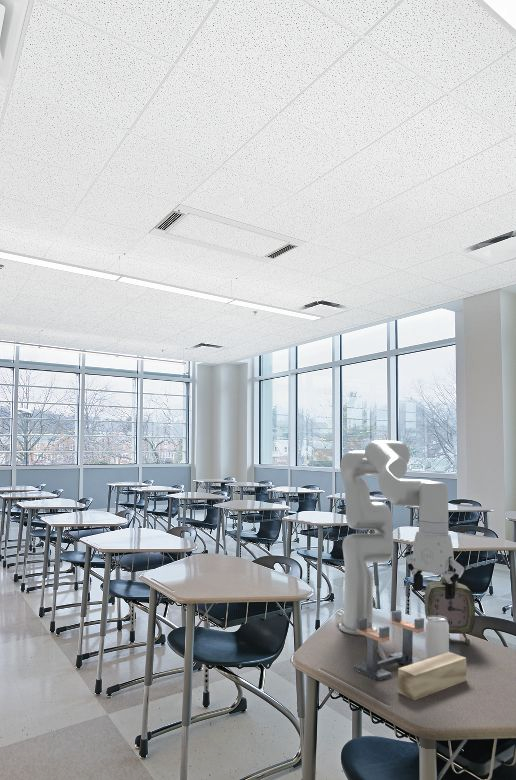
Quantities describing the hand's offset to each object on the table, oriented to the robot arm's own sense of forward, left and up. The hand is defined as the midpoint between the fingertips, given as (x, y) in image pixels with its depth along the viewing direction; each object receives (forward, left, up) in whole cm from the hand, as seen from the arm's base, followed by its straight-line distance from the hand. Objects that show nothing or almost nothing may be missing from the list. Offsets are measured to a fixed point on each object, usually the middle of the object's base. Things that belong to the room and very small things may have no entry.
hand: (433, 594), depth 141 cm
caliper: (-24, +6, -23) cm, 34 cm away
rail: (0, 0, -23) cm, 23 cm away
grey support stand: (-14, 0, -23) cm, 27 cm away
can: (-10, +16, -23) cm, 30 cm away
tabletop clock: (-19, +35, -23) cm, 46 cm away
